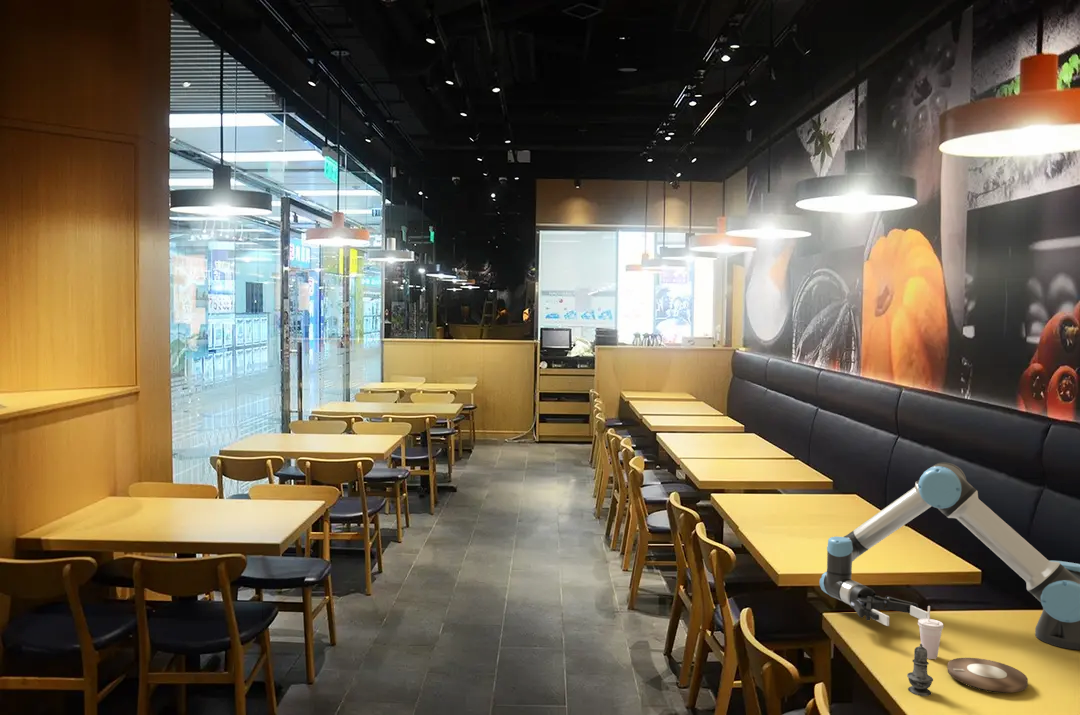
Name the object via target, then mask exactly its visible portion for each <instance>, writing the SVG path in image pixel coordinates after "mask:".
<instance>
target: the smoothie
mask: <svg viewBox="0 0 1080 715" xmlns="http://www.w3.org/2000/svg"><path fill="white" fill-rule="evenodd" d="M927 612H928V619H927V618H923V619H918V620H917V625H918V627H919V634H920V636H919V637H920V644H922V645H923V646H922V647H923V648H925V649H926V650H927V658H928V659H927V660H931V659H935V660H937V659H938V655H939V649H940V643H941V637H942V633H943V632H942V631H943V629H944V627H945V626H944V623H943V622H942V621H940V620H936V619H932V618H931V606H930V605H928V606H927ZM936 658H937V659H936Z"/></svg>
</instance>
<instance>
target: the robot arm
mask: <svg viewBox="0 0 1080 715" xmlns="http://www.w3.org/2000/svg"><path fill="white" fill-rule="evenodd" d="M978 492H979V491H978V490H977V489H976V488H975V487H973V485H971V483H969V482H968V481H967V477H966V475H965V472H964V471H963V470H962V469H961V468H960V467H959V466H957V465H955V464H954V463H949V462H938V463H936V464H934V465H932V466H931V467H929V468H927V469H926V470H925V471H923V473H922V474H921V476H920V477H919V479H918V480H917V481H915V485H914V487H912V488H911V489H910V490H908V491H907V492H906V493H903V495H901V496H900V497H898V498H897V499H895V500H894V501H892V502H891V503H889V505H887V506H886V507H884V508H883V509H881V510H880V511H879V512H877V513H876V514H874V515H873V516H872V517H870V518H869V519H867V520H866V521H865V522H863V523H861V525H859V526H858V527H856V528H855V529H854V530H852V531H851V532H849V533H848V534H846V535H844V536H831V537H829V538H828V540H827V546H826V551H827V553H826V554H827V555H826V556H827V557H826V559H827V560H826V562H827V564H826V571H825V572H824V573H823V574H821V577H820V578H819V587H820V589H821V591H823V593H825V594H827V595H829V596H830V597H831V598H834V599H836V600H838V601H841V602H842V603H845V604H847V605H849V606H850V608H851V609H854V611H855V613H856V614H857V615H858V616H859V618H861V619H863V618H864V617H865V620H866V621H871V619H872V620H874V621H876V622H878V623H880V624H881V625H884V626H886V627H890V616H889V615H888V614H885V613H883V612H881V611H879V610H882V611H885V612H886V611H897V612H901V613H907V614H909V615H910V616H911V617H914V618H917V619H918V620H919V619H923V618H927V619H928V611H926V610H923V609H922V608H919V604H918V603H915V602H911V601H909V600H908V601H907V600H903V599H899V598H896V597H892V596H889V595H885V597H882V596H880V595H877V594H876V591H874V589H873V588H870V587H868V586H866V585H864V584H862V583H860V582H858V581H855V580H853V579H852V570H853V569H852V566H853V562H854V561H855V560H856V559H857V558H859V557H860V556H861V555H863V554H864V553H866V552H867V551H868V550H870V549H871V548H873V547H874V546H875V545H877V544H878V543H881V541H883V540H885V539H886V538H887V537H889V536H890V535H892V534H893V533H894V532H896V531H897V530H899V529H901V527H903V526H904V525H906V524H908V523H909V522H911V521H913V519H915V518H917V517H918V516H919V515H921V514H923V513H924V512H926V511H927V510H928V509H930V508H931V507H933V508H936V509H938V511H940V512H941V513H942V514H943V515H944V516H946V518H948V519H956V520H957V521H958V522H959V523H961V525H962V526H964V527H965V528H967V529H968V531H970V532H971V533H972V534H973V535H974V536H975V537H976V538H977V539H978V540H980V541H981V542H982V543H983V544H984V545H985V546H986V547H987V548H989V550H990V551H992V552H993V553H994V554H995V555H996V556H997V557H998V558H1000V560H1002V561H1003V562H1004V563H1005V564H1006V565H1007V566H1008V567H1009V568H1010V569H1011V570H1013V571H1014V572H1015V573H1016V574H1017V575H1018V576H1019V577H1020V578H1022V579H1023V580H1024V581H1025V583H1026V590H1027V592H1029V593H1030V594H1031V595H1032V596H1033V597H1035V599H1037V601H1039V602H1040V604H1041V606H1042V612H1041V615H1040V617H1039V619H1038V621H1037V624H1036V626H1035V633H1034V634H1035V637H1036V638H1037V639H1038V640H1040V641H1042V642H1044V643H1046V644H1049V645H1051V646H1054V647H1057V648H1058V647H1059V648H1063V649H1068V650H1076V651H1077V650H1078V651H1080V563H1076V562H1075V563H1074V562H1070V561H1069V562H1068V561H1062V560H1049V559H1047V557H1045V556H1044V555H1043V554H1042V553H1041V552H1040V551H1038V550H1037V549H1036V548H1035V547H1034V546H1033V545H1032V544H1030V543H1029V542H1028V541H1027V540H1026V539H1025V537H1022V536H1021V535H1020V534H1019V533H1018V532H1017V531H1016V530H1015V529H1014V528H1013V527H1012V526H1010V525H1009V524H1008V523H1006V521H1004V520H1003V519H1002V518H1001V517H1000V516H999V515H998V514H997V513H995V512H994V511H993V510H992V509H991V508H990V507H989V506H988V505H986V504H985V503H984V502H983V501H981V500H980V499H979V493H978ZM885 606H886V607H885Z"/></svg>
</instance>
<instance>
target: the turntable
mask: <svg viewBox="0 0 1080 715" xmlns="http://www.w3.org/2000/svg"><path fill="white" fill-rule="evenodd" d="M946 668H947V669H946V670H947V673H948V675H949V676H951V677H952V678H953V679H955V680H956V681H959V682H961V683H962V684H964V683H965V684H964V685H966V684H967V685H966V686H968V685H970V686H973V687H977V688H980V689H985V690H990V691H996V692H1011V693H1017V692H1022V691H1024V690H1026V689H1027V688H1028V686H1029V682H1028V681H1029V680H1028V679H1029V678H1028V677H1027V675H1026V674H1025V673H1024V672H1022V671H1021V670H1019V669H1018V668H1015V667H1013V666H1010V665H1007V664H1005V663H1001V662H1000V661H999V662H998V661H995V660H991V659H986V658H978V657H957V658H953V659H950V660H949V661H948V663H947V667H946ZM970 686H969V687H970ZM973 687H972V688H973Z"/></svg>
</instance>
